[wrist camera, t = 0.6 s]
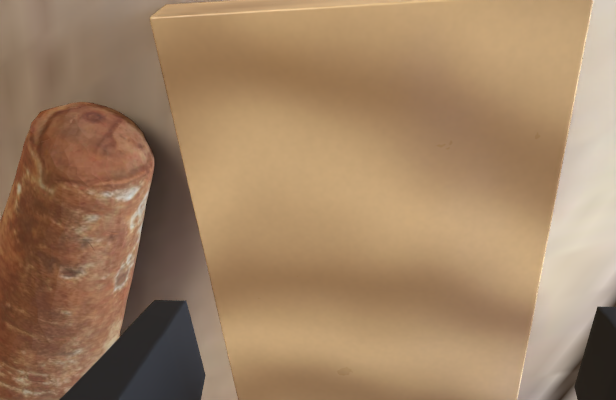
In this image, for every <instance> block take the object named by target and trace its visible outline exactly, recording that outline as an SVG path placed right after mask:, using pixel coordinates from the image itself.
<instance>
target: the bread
mask: <svg viewBox="0 0 616 400" xmlns="http://www.w3.org/2000/svg"><path fill="white" fill-rule="evenodd" d="M153 171H154V156H153V152H152V150H151V148H150V146H149V145H148V143H147V141H146V139H145V137H144V134H143V132H142V131H141V130H140V129H139V128H138V126H137V125H136V124H135V123H134V122H133V121H132V120H131V119H129V118H128V117H126V116H125V115H123V114H122V113H120V112H118V111H116V110H114V109H112V108H109V107H106V106H102V105H98V104H94V103H88V102H77V103H70V104H67V105H61V106H58V107H55V108H51V109H48V110H45V111H42V112H40V113H39V115H38V116H37V117H36V118H35V119H34V120H33V122H32V123H31V127H30V130H29V132H28V135H27V137H26V140H25V143H24V146H23V151H22V155H21V158H20V162H19V165H18V169H17V173H16V176H15V180H14V183H13V186H12V189H11V192H10V195H9V198H8V201H7V204H6V207H5V210H4V213H3V216H2V218H1V221H0V400H59V399H60V398H61V397H62V396H63V395H64V394H65V393H66V392H67V391H68V390H69V389H70V388H71V387H72V386H73V385H74V384H75V383H76V382H77V381H78V380H79V379H80V378H81V377H82V376H83V375H84V374H85V373H86V372H87V371H88V370H89V369H90V368H91V367H92V366H93V365H94V364H95V363H96V362H97V361H98V360H99V359H100V358H101V356H102V355H103V354H104V353H105V352H106V351H107V350H108V349H109V348H110V347H111V346H112V345H113V344H114V343H115V342H116V341H117V339H118V338H119V336H120V330H121V327H122V323H123V318H124V313H125V308H126V303H127V298H128V294H129V289H130V285H131V281H132V277H133V272H134V267H135V263H136V258H137V252H138V247H139V242H140V236H141V229H142V224H143V220H144V214H145V207H146V202H147V198H148V193H149V189H150V185H151V181H152V176H153Z"/></svg>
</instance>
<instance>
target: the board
mask: <svg viewBox="0 0 616 400" xmlns="http://www.w3.org/2000/svg"><path fill="white" fill-rule="evenodd" d="M593 1H594V0H231V1H216V2H200V3H184V4H168V5H165V6H164V7H162V8H161V9H160V10H159V11H157V12H156V13H155V14H154V15H152V16H151V17H150V22H151V27H152V31H153V35H154V39H155V44H156V48H157V52H158V57H159V61H160V65H161V70H162V74H163V78H164V82H165V87H166V91H167V95H168V100H169V104H170V108H171V113H172V117H173V121H174V125H175V130H176V134H177V138H178V143H179V147H180V151H181V156H182V160H183V164H184V168H185V173H186V177H187V181H188V186H189V190H190V194H191V199H192V203H193V207H194V211H195V216H196V220H197V224H198V229H199V233H200V237H201V242H202V246H203V250H204V254H205V259H206V263H207V267H208V272H209V276H210V280H211V285H212V289H213V293H214V297H215V302H216V306H217V310H218V315H219V319H220V323H221V327H222V332H223V336H224V340H225V345H226V349H227V353H228V358H229V362H230V366H231V370H232V375H233V379H234V383H235V388H236V392H237V396H238V400H517V398H518V393H519V387H520V382H521V377H522V372H523V367H524V361H525V356H526V351H527V346H528V340H529V335H530V330H531V325H532V320H533V314H534V309H535V304H536V299H537V293H538V288H539V283H540V278H541V273H542V267H543V262H544V257H545V252H546V246H547V241H548V236H549V231H550V226H551V220H552V215H553V210H554V205H555V199H556V194H557V189H558V184H559V179H560V173H561V168H562V163H563V158H564V153H565V147H566V142H567V137H568V132H569V126H570V121H571V116H572V111H573V106H574V100H575V95H576V90H577V85H578V79H579V74H580V69H581V64H582V59H583V53H584V48H585V43H586V38H587V32H588V27H589V22H590V17H591V12H592V6H593Z"/></svg>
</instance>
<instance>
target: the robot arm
mask: <svg viewBox="0 0 616 400" xmlns="http://www.w3.org/2000/svg"><path fill="white" fill-rule="evenodd" d="M204 380H205V372H204V368H203V364H202V360H201V356H200V352H199V348H198V344H197V341H196V337H195V333H194V329H193V325H192V321H191V317H190V313H189V310H188V306H187V302H186V301H172V300H155V301H154V302H153V303H152V304H151V305H150V306H149V307H148V308H147V309H146V310H145V311H144V312H143V313H142V314H141V315H140V316H139V317H138V318H137V319H136V320H135V321H134V322H133V323H132V324H131V326H130V327H129V328H128V329H127V330H126V331H125V332H124V333H123V334H122V335H121V336H120V337H119V338H118V339H117V341H116V342H115V343H114V344H113V345H112V346H111V347H110V348H109V349H108V350H107V351H106V352H105V353H104V354H103V355H102V356H101V358H100V359H99V360H98V361H97V362H96V363H95V364H94V365H93V366H92V367H91V368H90V369H89V370H88V371H87V372H86V373H85V374H84V375H83V376H82V377H81V378H80V379H79V380H78V381H77V382H76V383H75V384H74V385H73V386H72V387H71V388H70V389H69V390H68V391H67V392H66V393H65V394H64V395H63V396H62V397H61V398H60V399H59V400H201V395H202V390H203V385H204ZM575 391H576V395H577V399H578V400H616V307H597V311H596V314H595V318H594V321H593V324H592V328H591V331H590V335H589V338H588V342H587V345H586V349H585V352H584V356H583V359H582V363H581V366H580V369H579V373H578V376H577V380H576V383H575Z"/></svg>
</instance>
